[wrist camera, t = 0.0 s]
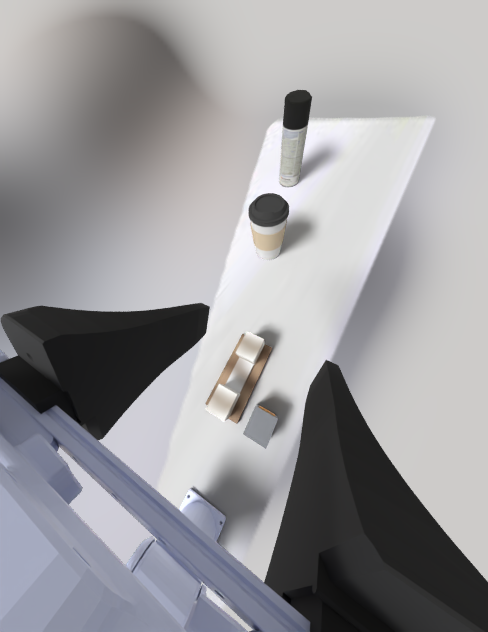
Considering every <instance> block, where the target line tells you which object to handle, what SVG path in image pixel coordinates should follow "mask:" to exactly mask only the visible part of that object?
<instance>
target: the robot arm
mask: <svg viewBox="0 0 488 632" xmlns="http://www.w3.org/2000/svg"><path fill="white" fill-rule="evenodd" d="M209 308H210V307H209V306H207V305H204V304H202V303H198V304H190V305H184V306H177V307H171V308H163V309H156V310H147V311H131V312H100V311H84V310H71V309H63V308H55V307H47V306H36V307H32V308H27V309H24V310H20V311H16V312H12V313H8V314H4V315H3V316H2V318H1V323H2V326H3V329H4V331H5V333H6V334H7V336H8V338H9V340H10V342H11V343H12V345H13V347H14V349H15V350H16V352H17V354H18V356H16V357H13V358H11V359H9V358H8V357H7V356H6V355H5V353H3V352H2V351H1V350H0V632H248V631H246V629H244V628H243V627H242V626H241V625H240V624H239V623H238V622H237V621H236V620H234V619H233V618H232V617H231V616H230V615H228V614H227V613H226V612H225V611H223V610H222V609H221V608H220V607H218V606H217V605H216V604H215V603H214V602H212V601H211V600H210V599H209V598H207V595H206V587H205V586H204V585H203V584H202V586H201V582H203V583H204V584H205V585H206V586H207V587H208V588H210V589H211V590H212V591H213V592H214V593H215V594H216V595H217V596H218V597H219V598H220V599H221V600H222V601H223V602H224V603H225V604H226V605H228V606H229V607H230V608H231V609H232V610H233V611H234V612H235V613H236V614H237V615H238V616H239V617H240V618H241V619H242V620H243V621H244V622H245V623H247V624H248V625H249V626H250V627H251V628H252V629H253V630H252V631H249V632H488V582H487V581H486V579H485V578H484V577H483V576H482V575H481V574H480V573H479V571H478V570H477V569H476V568H475V567H474V566H473V564H472V563H471V562H470V561H469V560H468V559H467V557H466V556H465V555H464V554H463V553H462V552H461V550H460V549H459V548H458V547H457V546H456V545H455V544H454V542H453V541H452V540H451V539H450V538H449V536H448V535H447V534H446V533H445V532H444V530H443V529H442V528H441V527H440V525H439V524H438V523H437V522H436V520H435V519H434V518H433V517H432V515H431V514H430V513H429V512H428V510H427V509H426V508H425V507H424V505H423V504H422V503H421V502H420V500H419V499H418V498H417V496H416V495H415V494H414V493H413V491H412V490H411V489H410V487H409V486H408V485H407V483H406V482H405V481H404V479H403V478H402V476H401V475H400V474H399V472H398V471H397V469H396V468H395V467H394V465H393V464H392V462H391V461H390V460H389V458H388V457H387V455H386V454H385V452H384V451H383V449H382V448H381V446H380V445H379V443H378V441H377V440H376V438H375V437H374V435H373V434H372V432H371V430H370V428H369V427H368V425H367V423H366V421H365V420H364V418H363V416H362V414H361V412H360V411H359V409H358V407H357V405H356V403H355V401H354V399H353V397H352V395H351V393H350V391H349V388H348V386H347V384H346V382H345V379H344V377H343V375H342V373H341V370H340V368H339V366H338V365H336V364H334V363H332V362H330V361H327V360H326V361H325V363H324V364H323V366H322V367H321V369H320V371H319V372H318V374H317V375H316V377H315V379H314V380H313V382H312V384H311V385H310V388H309V392H308V395H307V399H306V403H305V410H304V418H303V426H302V433H301V441H300V448H299V454H298V458H297V462H296V467H295V471H294V475H293V480H292V483H291V487H290V492H289V496H288V499H287V503H286V507H285V511H284V515H283V518H282V522H281V526H280V530H279V533H278V537H277V540H276V544H275V547H274V551H273V555H272V558H271V562H270V565H269V568H268V572H267V575H266V579H265V582H263V581H262V580H260V579H259V578H258V577H257V576H256V575H255V574H253V573H252V572H251V571H250V570H249V569H248V568H246V567H245V566H244V565H243V564H242V563H241V562H239V561H238V560H237V559H236V558H235V557H233V556H232V555H231V554H230V553H229V552H228V551H226V550H225V549H224V548H223V547H222V546H221V545H219V544H218V543H217V539H218V537H219V535H220V532H221V530H222V528H223V525H224V523H225V520H226V517H225V515H223V514H222V513H221V512H220V511H218V510H217V509H216V508H215V507H213V506H212V505H211V504H210V503H208V502H207V501H206V500H205V499H203V498H202V497H201V496H200V495H198V494H197V493H196V492H195V491H193V490H192V489H190V490H189V491H188V492H187V495H186V497H185V499H184V501H183V503H182V505H181V507H180V509H179V510H178V509H177V508H176V507H175V506H174V505H173V504H171V503H170V502H169V501H168V500H167V499H166V498H164V497H163V496H162V495H161V494H160V493H159V492H157V491H156V490H155V489H154V488H153V487H152V486H150V485H149V484H148V483H147V482H146V481H145V480H143V479H142V478H141V477H140V476H139V475H138V474H136V473H135V472H134V471H133V470H132V469H130V468H129V467H128V466H127V465H126V464H125V463H123V462H122V461H121V460H120V459H119V458H118V457H116V456H115V455H114V454H113V453H112V452H111V451H109V450H108V449H107V448H106V447H105V446H104V445H102V444H101V443H100V442H99V441H98V440H100V439H103V438H104V436H105V435H106V434H107V433H108V431H109V430H110V429H111V428H112V427H113V425H114V424H115V423H116V422H117V421H118V419H119V418H120V417H121V416H122V415H123V413H124V412H125V411H126V410H127V409H128V408H129V407H130V406H131V404H132V403H133V402H134V401H135V400H136V399H137V398H138V397H139V395H140V394H141V393H142V392H143V391H144V390H145V389H146V388H147V387H148V386H149V385H150V384H151V383H152V382H153V381H154V380H155V379H156V378H157V377H158V376H159V375H160V374H161V373H162V372H163V371H164V370H165V369H166V368H167V367H169V366H170V365H171V364H172V363H173V362H175V361H176V360H177V359H178V358H180V357H181V356H182V355H183V354H184V353H186V352H187V351H188V350H189V349H191V348H192V347H193V346H194V345H195V344H196V343H197V342H198V341H199V340H200V339H201V338H202V337H203V336H204V335H205V334H206V329H207V322H208V315H209ZM59 447H60V448H61V449H63V450H64V451H65V452H66V453H67V454H68V455H69V456H70V457H71V458H72V459H73V460H74V461H75V462H76V463H77V464H78V465H80V466H81V467H82V468H83V469H84V470H85V471H86V472H87V473H88V474H89V475H90V476H91V477H92V478H93V479H94V480H95V481H96V482H97V483H99V484H100V485H101V486H102V487H103V488H104V489H105V490H106V491H107V492H108V493H109V494H110V495H111V496H112V497H113V498H114V499H115V500H117V501H118V502H119V503H120V504H121V505H122V506H123V507H124V508H125V509H126V510H127V511H128V512H129V513H130V514H131V515H132V516H133V517H135V519H137V520H138V521H139V522H140V523H141V524H142V525H143V526H144V527H145V528H146V529H147V530H148V531H149V532H150V533H151V534H152V535H153V536H155V537H156V538H157V540H156V542H155V538H154V537H153V536H151V537H149V538H147V539H145V540H144V541H143V542H142V543H141V544H140V545H139V547H138V548H137V549H136V551H135V552H134V553H133V555H132V556H131V558H130V559H129V561H128V562H127V564H126V565H125V564H124V563H123V562H122V561H121V560H120V559H119V558H118V557H117V556H116V555H115V554H114V553H113V552H112V551H111V550H110V548H109V547H108V546H107V545H106V544H105V543H104V542H103V541H102V540H101V539H100V538H99V537H98V536H97V535H96V533H95V532H94V531H92V529H91V528H90V527H89V526H88V525H87V524H86V523H85V522H84V521H83V520H82V519H81V517H80V516H79V515H78V514H77V513H76V512H75V511H74V510H73V509H72V508H71V507H70V506H69V504H70V503H71V501H72V500H73V499H74V498H75V497H76V496H77V495H78V494H79V493H80V492H81V491H82V486H81V485H80V483H79V482H78V481H77V479H76V478H75V477H74V475H73V474H72V472H71V471H70V469H69V467H68V464H67V463H66V462H65V461H64V460H63V458H62V457H61V456H60V455H59V454H58V453H57V451H58V448H59ZM188 495H190V497H188ZM220 521H222V524H221V523H220ZM200 587H201V588H200Z"/></svg>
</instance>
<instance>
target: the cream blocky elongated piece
mask: <svg viewBox="0 0 488 632" xmlns="http://www.w3.org/2000/svg"><path fill="white" fill-rule="evenodd" d="M271 350H272V348H271V347H269V346H267V345H265V342H264V339H263V338H261V337H258V336H256V335H254V334H252V333H250V332H248V331H247V332H246V334H245V335H244V334H242V336H241V338H240V340H239V342H238V344H237V345H236V347H235V349H234V351H233V353H232V355H231V357H230V359H229V360H228V362H227V364H226V366H225V368H224V370H223V372H222V374H221V375H220V377H219V379H218V381H217V383H216V385H215V387H214V389H213V390H212V392H211V394H210V396H209V398H208V400H207V402H206V405H208V406H207V408H206V409H205V410H206V411H208V412H210V413H211V414H213V415H214V416H216V417H217V418H219V419H221V420H222V421H226V420H227V419H230V420H232V421H233V422H235V423H236V424H237V423H238V421H239V419H240V416H241V414H242V412H243V410H244V408H245V406H246V404H247V401H248V399H249V397H250V395H251V393H252V391H253V389H254V386H255V384H256V382H257V380H258V378H259V376H260V374H261V371H262V369H263V367H264V365H265V363H266V361H267V359H268V357H269V354H270V352H271Z"/></svg>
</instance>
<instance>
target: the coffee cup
mask: <svg viewBox="0 0 488 632" xmlns="http://www.w3.org/2000/svg"><path fill="white" fill-rule="evenodd" d="M288 215H289V205H288V203H287V202H286V201H285V200H284V199H283V198H282V197H281V196H280V195H277V194H273V193H268V194H263V195H261V196H259V197H257V198H256V199H255V200H254V201H253V202H252V203H251V205H250V206H249V218H250V220H251V230H252V235H253V241H254V244H255V248H256V254H257V256H258V257H259V258H261V259H263V260H272V259H275V258H276V257H277V256H278V255H279V254H280V250H281V245H282V242H283V238H284V233H285V228H286V223H287V217H288Z"/></svg>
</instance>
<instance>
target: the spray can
mask: <svg viewBox="0 0 488 632" xmlns="http://www.w3.org/2000/svg"><path fill="white" fill-rule="evenodd" d="M311 100H312V96H311V95H310V93H309V92H307V91H306V90H296V91H293V92H290V93H289V94H288V95H287V96H286V97H285V106H284V107H285V108H284V118H283V131H282V146H281V161H280V175H279V182H280V184H281V185H282V186H285V187H291V186H294V185H296V184H297V183H298V181H299V176H300V170H301V164H302V158H303V151H304V145H305V139H306V133H307V127H308V120H309V113H310V107H311Z"/></svg>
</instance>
